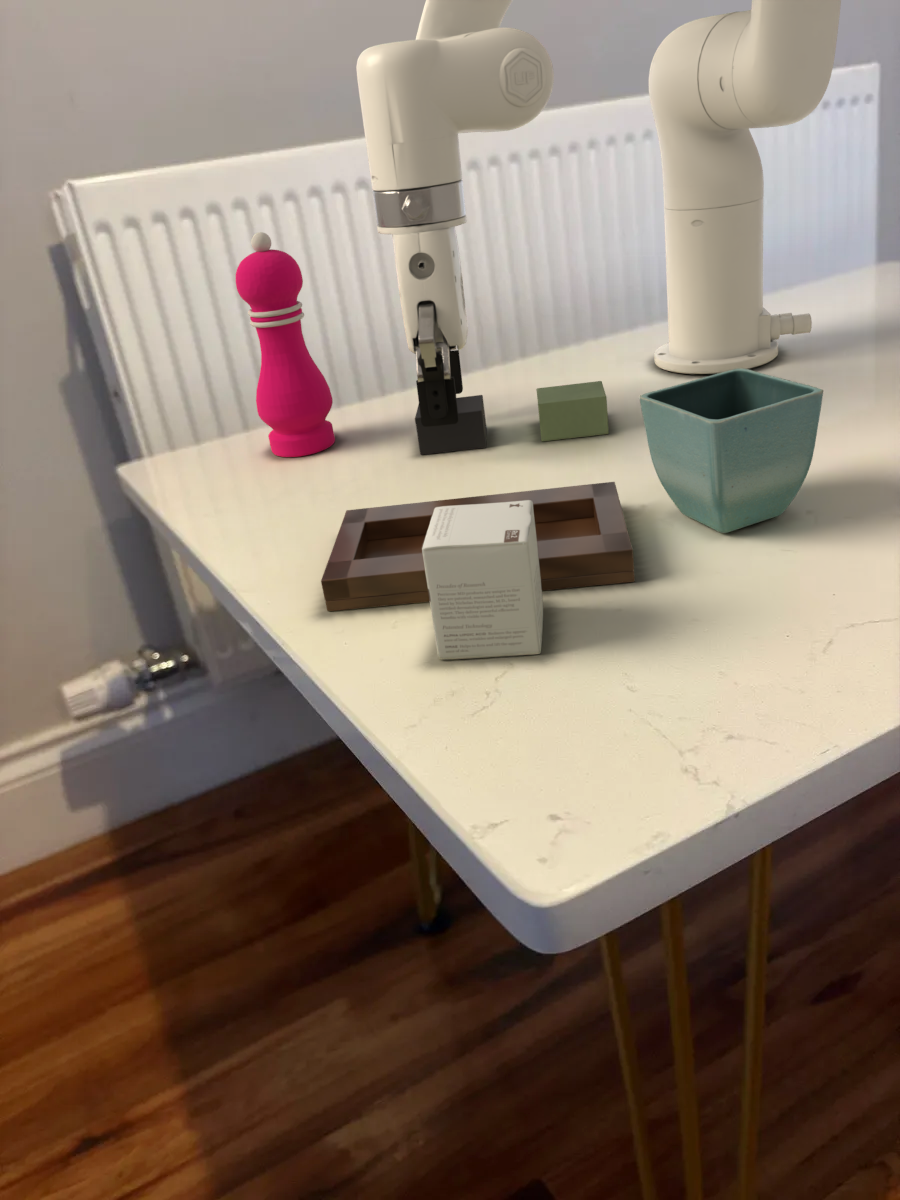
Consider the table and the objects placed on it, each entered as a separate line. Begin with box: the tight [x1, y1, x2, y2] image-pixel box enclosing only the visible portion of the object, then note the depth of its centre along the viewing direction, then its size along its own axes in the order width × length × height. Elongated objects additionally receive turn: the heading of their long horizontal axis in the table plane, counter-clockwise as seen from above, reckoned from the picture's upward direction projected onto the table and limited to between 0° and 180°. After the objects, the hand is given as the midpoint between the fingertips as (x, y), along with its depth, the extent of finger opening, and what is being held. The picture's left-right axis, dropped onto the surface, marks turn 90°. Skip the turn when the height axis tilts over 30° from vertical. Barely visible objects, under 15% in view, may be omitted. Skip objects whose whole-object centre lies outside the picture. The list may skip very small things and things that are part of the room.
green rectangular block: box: [536, 380, 610, 442], centre depth 93 cm, size 6×5×4 cm
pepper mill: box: [235, 231, 336, 458], centre depth 95 cm, size 7×7×20 cm
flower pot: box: [638, 368, 824, 534], centre depth 70 cm, size 9×9×9 cm
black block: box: [414, 394, 488, 456], centre depth 94 cm, size 6×5×4 cm
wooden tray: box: [320, 481, 636, 612], centre depth 71 cm, size 20×12×2 cm, turn 87°
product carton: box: [422, 500, 544, 661], centre depth 60 cm, size 6×6×7 cm
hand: (443, 408), depth 93 cm, fingers open, 9 cm apart
